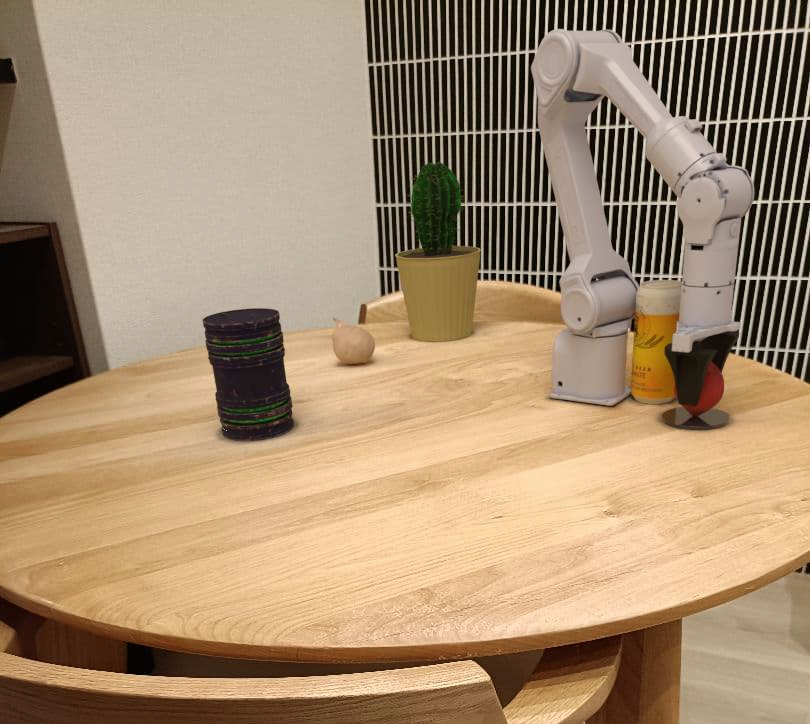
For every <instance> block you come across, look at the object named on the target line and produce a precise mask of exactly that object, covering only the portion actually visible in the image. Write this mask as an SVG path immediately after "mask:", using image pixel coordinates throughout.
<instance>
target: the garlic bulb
mask: <svg viewBox="0 0 810 724" xmlns="http://www.w3.org/2000/svg"><path fill="white" fill-rule="evenodd" d="M332 319H333V321H334V323H335V324H336V329H334V330H333V332H332V335H331V340H332V349H333V350H332V351H333V352H334V355H335V356H336V358H337V360H338V361H340V363H342V364H344V365H359V364H365V363H367V362H369V361H370V360H371V358H372V357H373V356H374V353H375V349H376V342H375V338H374V336H373V335H372V334H371V333H370V332H369V331H368V330H366V329H365V328H362V327H359V326H357V325H354V324H343V323H342V322H341V320H340V319H338V318H336V317H334V316H333V317H332Z"/></svg>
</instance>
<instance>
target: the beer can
mask: <svg viewBox="0 0 810 724" xmlns="http://www.w3.org/2000/svg"><path fill="white" fill-rule="evenodd" d="M681 289H682V280H681V281H680V280H676V279H675V280H674V279H654V280H653V279H652V280H646V281H642V282H641V283H639V289H638V291H637V293H636V307H635V317H634V325H633V326H634V327H633V341H632V342H633V344H632V360H631V362H632V363H631V378H630V387H631V394H630V395H632V397H633V398H634V400H635V401H636V402H637V403H642V404H649V405H661V404H667V403H670V402H672V401H673V400H674V398H676V397H675V395H674V383H675V380H674V375H673V372H672V369H671V366H670V364H669V362H668V360H667V358H666V356H665V353H664V350H665V346H666V345H668V344H670V343H672V341H673V334H675V333H676V330H677V321H679V314H680V301H681Z"/></svg>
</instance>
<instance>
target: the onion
mask: <svg viewBox="0 0 810 724" xmlns="http://www.w3.org/2000/svg"><path fill="white" fill-rule="evenodd" d="M724 392H725V378H724V375H723V372H722V373H721V371H720V370H719V368H718V367H717V366H716V365H715V364H714V363H713V362H710V365H709V367H708V369H707V372H706V375H705V379H704V383H703V387H702V392H701V396H700V399H699V402H698V404H697V405H696V406H689V405H681V407H684V408H685V409H686V410H687V411H688V412H689V414H690V415H692V416H695V417H697V416H699V415H701V414H703V413H705V412H706V411H708V410H710V409H711V408H713V409H714V407H716V406H717V405H718V404H719V403H720V401H721V400H722V398H723V395H724ZM674 395H675V397H674V398H675V399H676V401H677V402H678V397H677V392H676V385H675V383H674Z"/></svg>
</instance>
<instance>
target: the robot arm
mask: <svg viewBox="0 0 810 724" xmlns="http://www.w3.org/2000/svg"><path fill="white" fill-rule="evenodd" d="M530 71H531V75H532V79H533V84H534V87H535V91H536V96H537V125H538V133H539V135H540V140H541V144H542V148H543V152H544V157H545V160H546V165H547V169H548V173H549V179H550V181H551V182H550V183H551V186H552V190H553V194H554V199H555V204H556V207H557V212H558V216H559V219H560V224H561V228H562V233H563V237H564V241H565V243H566V244H565V245H566V250H567V254H568V258H569V262H570V263H569V265H568V267H567V268H566V270H565V271H564V273H563V274H562V275H561V277H560V279H559V282H558V283H559V288H560V293H561V297H560V315H561V318H562V321H563V323H564V324H565V326H566V327H567V328H562V329H561V330H560V331H558V333H557V335H556V337H555V339H554V342H553V347H552V353H551V354H552V359H551V360H552V361H551V363H552V364H551V392H550V393H549V394H548V395H549V398H551V399H556V400H565V401H566V400H567V401H572V402H578V403H579V402H580V403H587V404H593V405H600V406H601V405H602V406H608V407H613V406H615V405H616V404H618V403H620V402H621V401H623V400H624V399H625V398H628V397H629V396H630V395H632V394H631V386H627V385H626V378H627V377H626V375H627V374H626V373H627V356H628V338H629V337H628V336H629V329H630V328H632V320H633V319H635V307H636V293H637V291H638V289H639V287H640V284H639V283H638V281H637V280H636V279H635V278H634V276H633V273H632V272H631V269H630V264H629V261H627V260H626V259H625V258H624V257H623V256H622V255H620V254H619V253H618V252H617V251H615V250H614V248H613V245H612V241H611V235H610V233H609V232H610V231H609V227H608V222H607V218H606V215H605V209H604V206H603V205H604V204H603V199H602V197H601V193H600V188H599V183H598V179H597V174H596V171H595V166H594V165H595V164H594V162H593V157H592V152H591V149H590V144H589V140H588V139H589V138H588V135H587V131H586V122H587V121H588V118H589V117H590V114H591V113H592V112H594V110H595V109H596V108H597V106H598V105H599V104H600V103H601V101H602V100H603V99H604V98H605V97H606V98H608V100H609V101H610V102H611V103H612V104H613V105H614V106H615V107H616V108H617V110H618V111H620V113H621V114H622V115H623V116H624V117H625V118H626V119H627V120H628V121H629V122H630V124H631V125H632V126H633V127H634V129H636V130H637V131H638V132H639V134H641V135H642V137H643V138H644V139H645V140H646V146H645V157H646V159H647V161H648V162H649V163H650V164H651V165H652V167H654V169H655V170H656V172H657V173H658V174H659V176H660V177H661V178H662V179H663V180H664V182H665V183H666V185H668V187H669V188H670V189H671V191H672V192H673V193H674V194H675V196H676V197H677V198H678V199H676V211H677V215H678V217H679V219H680V221H681V222H682V226H683V236H682V238H683V239H684V253H683V263H682V264H683V265H682V266H683V267H682V278H681V282H682V289H681V301H680V314H679V321H677V330H676V333H675V334H673V341H672V343H670V344H668V345H666V346H665V350H664V353H665V356H666V358H667V360H668V362H669V364H670V366H671V369H672V372H673V375H674V380H675V385H676V392H677V397H678V401H677V402H678V405H681V406H682V405H689V406H696V405H697V404H698V402H699V399H700V396H701V392H702V387H703V383H704V379H705V375H706V372H707V369H708V367H709V365H710V362H713V363H714V364H715V365H716V366H717V367H718V368H719V370H720V371H721V373H722V374H723V370H724V367H725V364H726V362H727V360H728V357H729V355H730V354H731V351H732V349H733V347H734V345H735V344H736V342H737V341H738V340H739V339H740V338H739V337H740V332H739V331H738V330H740V329H741V325H742V324H741V322H740V321H733V313H734V310H733V301H734V300H733V299H734V288H735V281H736V271H737V263H738V252H739V244H740V234H741V225H742V218H743V217H744V216H746V215H747V214H748V212H749V211H750V209H751V207H752V205H753V203H754V199H755V184H754V182H753V179H752V177H751V176H750V174H749V171H748V170H747V168H744V167H742V166H739V165H729V164H728V163H727V160H728V159H727V157H726V156H725V155H724V154H723V153H722V152H719V153H718V151H717V150H716V149H715V148H714V146H713V145H712V144H711V143H710V142H709V141H708V140H707V138H705V136H704V134H703V133H701V130H702V129H703V125H702V124H701V123H700V121H699V120H698V119H697V118H695V119H690V118H689V117H688V116H684V115H681V116H680V115H679V116H674V117H673V116H672V114H671V113H670V111H669V110H668V108H667V107H666V105H665V104H664V103H663V102H662V100H661V98H660V97H659V96H658V94H657V93H656V91H655V90H654V88H653V87H652V86H651V84H650V83H649V81H648V80H647V79H646V77H645V76H644V74H643V73H642V72H641V70H640V68H639V67H638V66H637V64H636V63H635V61H634V60H633V51H632V48H631V47H630V46H629V45H628V44H626V43H625V42H623V40H622V38H621V36H620V35H619V34H618V33H617V32H616V31H614V30H612V29H601V30H566V29H564V28H556V29H553V30H551V31H549V32H548V33H547V34H546V35H545V36H544V37H543V38H542V39H541V41H540V44H539V46H538V48H537V50H536V53H535V56H534V58H533V60H532V63H531V66H530ZM595 279H596V280H595Z"/></svg>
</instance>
